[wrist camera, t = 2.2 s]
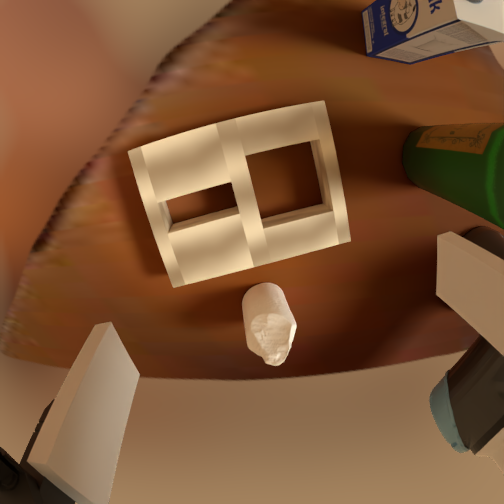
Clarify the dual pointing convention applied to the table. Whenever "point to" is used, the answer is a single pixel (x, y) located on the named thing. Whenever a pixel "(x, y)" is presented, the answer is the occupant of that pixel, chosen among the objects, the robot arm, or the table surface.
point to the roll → (268, 322)
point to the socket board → (238, 194)
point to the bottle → (460, 165)
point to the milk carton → (430, 27)
